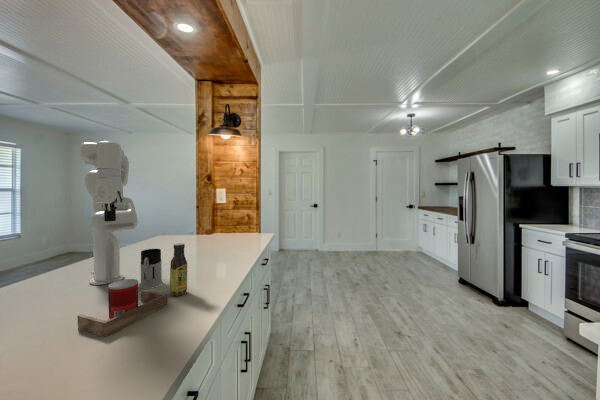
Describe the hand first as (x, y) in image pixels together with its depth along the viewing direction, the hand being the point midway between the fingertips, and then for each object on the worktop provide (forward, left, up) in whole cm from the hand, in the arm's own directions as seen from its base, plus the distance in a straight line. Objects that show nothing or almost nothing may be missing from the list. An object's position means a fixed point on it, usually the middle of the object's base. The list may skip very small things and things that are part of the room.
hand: (110, 221), depth 98 cm
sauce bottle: (+24, +10, -29) cm, 39 cm away
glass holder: (+7, +11, -29) cm, 32 cm away
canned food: (+22, -10, -29) cm, 38 cm away
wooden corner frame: (+22, -10, -29) cm, 38 cm away
